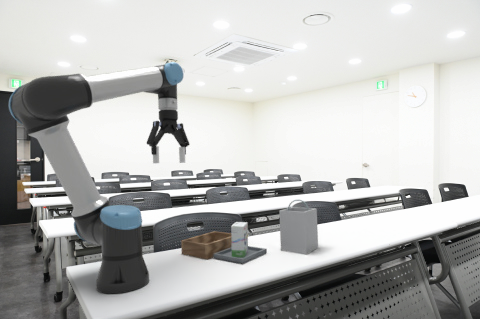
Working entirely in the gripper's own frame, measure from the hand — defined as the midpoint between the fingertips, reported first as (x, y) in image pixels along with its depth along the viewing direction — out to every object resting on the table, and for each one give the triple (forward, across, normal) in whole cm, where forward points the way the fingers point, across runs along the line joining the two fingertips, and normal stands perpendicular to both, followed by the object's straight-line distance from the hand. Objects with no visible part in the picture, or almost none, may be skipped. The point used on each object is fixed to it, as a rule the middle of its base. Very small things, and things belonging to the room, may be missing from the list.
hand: (169, 163), depth 130 cm
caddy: (+37, +32, -40) cm, 63 cm away
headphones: (+37, +32, -40) cm, 63 cm away
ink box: (+36, +12, -25) cm, 46 cm away
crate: (+37, +12, -10) cm, 40 cm away
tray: (+37, +12, -25) cm, 46 cm away
